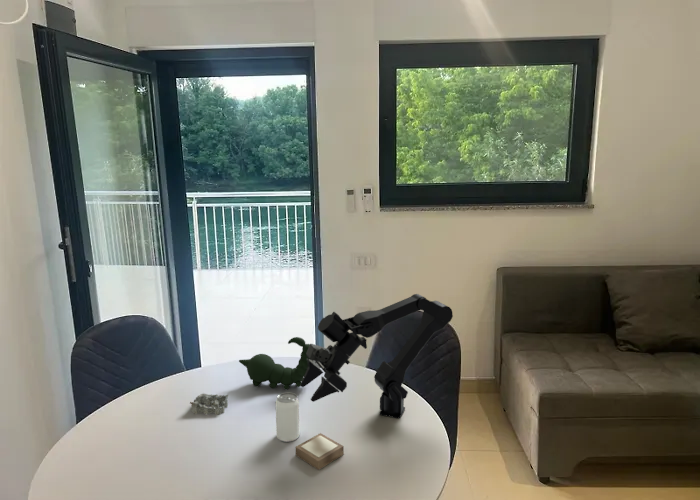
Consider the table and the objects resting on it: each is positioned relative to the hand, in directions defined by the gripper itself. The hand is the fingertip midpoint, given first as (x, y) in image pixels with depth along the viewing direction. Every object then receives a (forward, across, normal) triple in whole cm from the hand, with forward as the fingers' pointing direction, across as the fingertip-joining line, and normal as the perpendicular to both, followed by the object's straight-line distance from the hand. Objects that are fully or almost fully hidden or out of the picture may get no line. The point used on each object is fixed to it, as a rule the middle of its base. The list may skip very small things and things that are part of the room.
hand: (306, 393), depth 143 cm
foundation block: (+9, +12, +8) cm, 17 cm away
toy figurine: (+9, -31, +8) cm, 34 cm away
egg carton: (+26, -24, -8) cm, 36 cm away
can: (+13, 0, +5) cm, 13 cm away
